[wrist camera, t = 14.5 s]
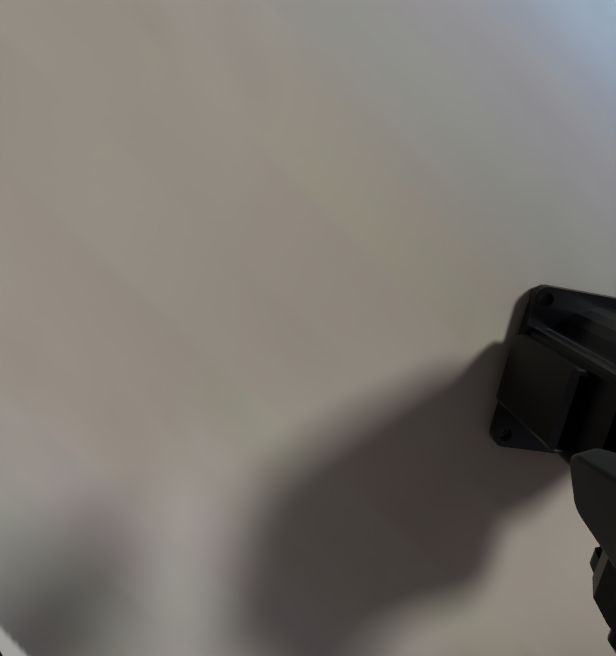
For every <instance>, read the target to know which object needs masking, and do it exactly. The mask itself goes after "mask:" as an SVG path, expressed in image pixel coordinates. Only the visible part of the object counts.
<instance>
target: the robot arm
mask: <svg viewBox="0 0 616 656" xmlns="http://www.w3.org/2000/svg"><path fill="white" fill-rule="evenodd" d="M545 294H548V300H547V302H546V303H544V304H541V298H542V296H543V295H545ZM497 399H498V404H497V407H496V410H495V414H494V417H493V420H492V424H491V427H490V436H491V438H492V439H493V440H494V441H495V442H496V443H497V444H498V445H500V446H503V447H510V448H518V449H526V450H534V451H542V452H550V453H557V454H558V455H559V456H560V457H561V458H562V459H563V460H564V461H565V462H566V463H568V464H569V465H570V469H571V478H572V486H573V494H574V501H575V505H576V508H577V510H578V513H579V515H580V516H581V518H582V519H583V521H584V522H585V524H586V525H587V527H588V528H589V530H590V531H591V533H592V534H593V536H594V537H595V539H596V540H597V542H598V543H599V545H600V547H596V548H595V550H594V553H593V555H592V558H591V561H590V565H591V568H592V571H593V573H594V575H593V577H592V579H593V598H594V600H595V602H596V604H597V605H598V607H599V609H600V611H601V613H602V615H603V617H604V619H605V621H606V623H607V624H608V626H609V627H610V628H611V629H610V632H609V634H608V641H609V643H610V645H611V646H612V648H613V650H614V651H615V653H616V297H611V296H606V295H600V294H595V293H589V292H584V291H578V290H573V289H567V288H561V287H556V286H550V285H539V286H537V287H536V288H534V289H533V290H532V292H531V294H530V296H529V300H528V303H527V306H526V310H525V313H524V317H523V320H522V323H521V327H520V330H519V333H518V336H516V337H515V338H514V339H513V342H512V346H511V349H510V352H509V356H508V359H507V362H506V366H505V369H504V372H503V376H502V379H501V383H500V386H499V389H498V393H497ZM504 429H508V431H507V433H506V434H505V435H504V436H500V433H501V432H502V431H503V430H504ZM0 656H2V654H1V652H0Z"/></svg>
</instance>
